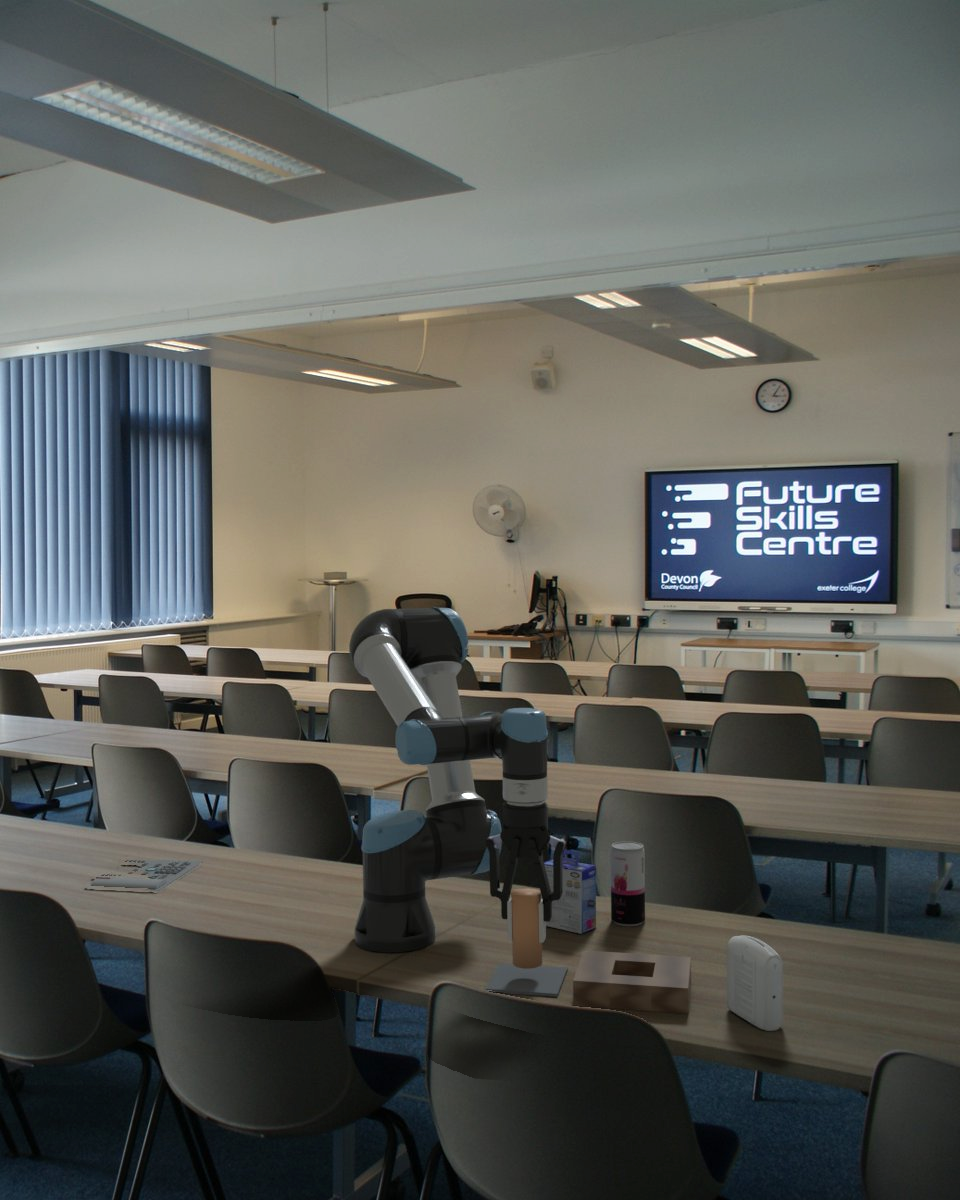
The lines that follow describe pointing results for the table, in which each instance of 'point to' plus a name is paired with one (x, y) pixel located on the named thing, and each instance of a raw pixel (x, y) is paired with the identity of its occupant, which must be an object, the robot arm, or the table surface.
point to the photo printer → (755, 982)
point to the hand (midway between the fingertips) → (526, 938)
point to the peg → (526, 928)
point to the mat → (527, 980)
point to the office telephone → (150, 874)
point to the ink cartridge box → (574, 895)
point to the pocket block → (633, 981)
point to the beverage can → (627, 883)
